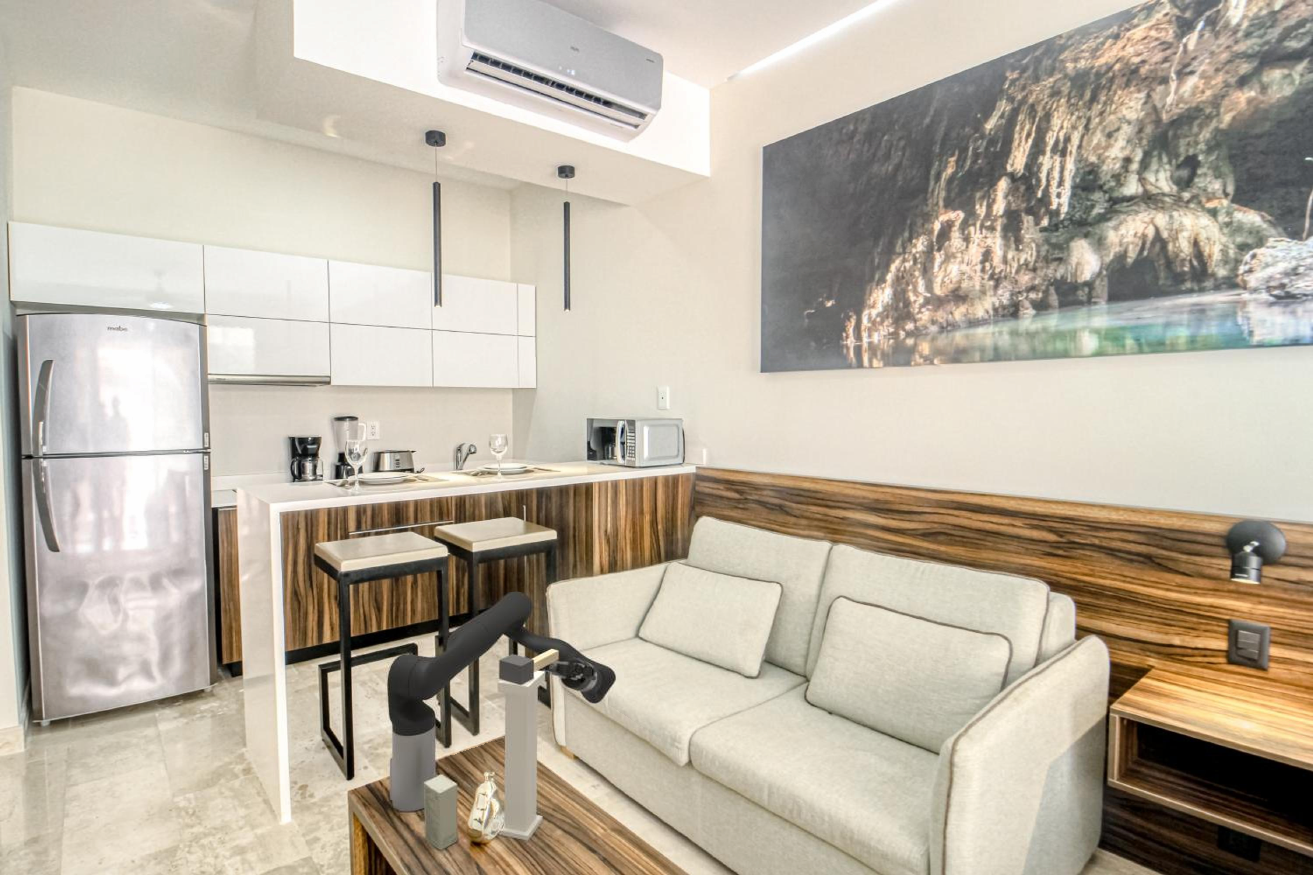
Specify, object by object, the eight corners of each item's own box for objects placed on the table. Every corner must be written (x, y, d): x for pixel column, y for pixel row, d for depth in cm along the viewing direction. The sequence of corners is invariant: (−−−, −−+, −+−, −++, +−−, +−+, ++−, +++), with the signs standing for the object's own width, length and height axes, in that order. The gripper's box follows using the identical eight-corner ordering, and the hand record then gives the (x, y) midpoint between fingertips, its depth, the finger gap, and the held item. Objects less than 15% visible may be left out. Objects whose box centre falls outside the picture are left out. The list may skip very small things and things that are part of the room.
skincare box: (458, 841, 137) (459, 784, 137) (439, 851, 134) (439, 793, 133) (442, 828, 142) (442, 772, 141) (423, 838, 138) (423, 781, 138)
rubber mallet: (521, 685, 136) (521, 666, 136) (499, 678, 139) (499, 659, 139) (565, 661, 150) (565, 643, 149) (544, 655, 152) (544, 638, 152)
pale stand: (526, 841, 138) (528, 686, 136) (496, 835, 139) (497, 682, 138) (543, 818, 145) (545, 671, 144) (514, 813, 147) (515, 667, 145)
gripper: (557, 656, 176) (533, 645, 162) (607, 663, 172) (588, 652, 158) (551, 686, 173) (526, 677, 159) (602, 693, 169) (582, 685, 155)
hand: (557, 665), depth 159 cm, fingers open, 8 cm apart
